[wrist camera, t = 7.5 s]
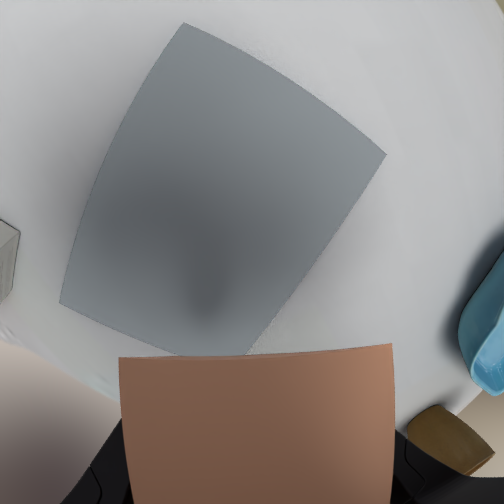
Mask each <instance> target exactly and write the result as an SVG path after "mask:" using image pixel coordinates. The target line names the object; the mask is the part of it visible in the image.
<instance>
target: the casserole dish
mask: <svg viewBox="0 0 504 504" xmlns="http://www.w3.org/2000/svg"><path fill="white" fill-rule="evenodd" d="M458 341H459V346H460V349H461V352H462V355H463V358H464V360H465V363H466V365H467V368H468V371H469V373H470V376H471V378H472V380H473V381H474V382H475V383H476V384H477V385H478V386H480V387H481V388H482V389H484V390H485V391H486V392H487V393H489V394H490V395H492V396H497V395H500V394H501V393H503V392H504V251H503V252H502V254H501V255H500V257H499V258H498V260H497V261H496V263H495V264H494V266H493V268H492V270H491V271H490V272H489V273H488V275H487V276H486V278H485V279H484V280H483V282H482V283H481V285H480V286H479V287H478V289H477V290H476V292H475V293H474V294H473V296H472V297H471V299H470V300H469V302H468V303H467V305H466V307H465V308H464V310H463V312H462V314H461V317H460V323H459V328H458Z"/></svg>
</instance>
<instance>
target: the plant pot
mask: <svg viewBox="0 0 504 504" xmlns="http://www.w3.org/2000/svg"><path fill="white" fill-rule="evenodd" d="M407 434H408V440H410V441H411V442H412V443H414V444H415V445H416V446H418V447H419V448H420V449H422V450H423V451H424V452H426V453H427V454H429V455H431V456H432V457H434V458H435V459H437V460H439V461H440V462H442V463H444V464H445V465H447V466H449V467H451V468H452V469H454V470H456V471H458V472H460V473H462V474H464V475H467V476H470V475H472V474H473V473H474V472H475V471H477V470H478V469H479V468H481V467H482V466H483V465H484V464H485V463H486V462H488V461H489V460H490V459H491V458H492V457H493V456H494V455H495V452H494V451H493V450H492V448H491V447H490V446H489V445H488V444H487V443H486V442H485V441H484V440H483V439H482V438H481V437H480V436H479V435H478V434H477V433H476V432H475V431H474V430H473V429H472V428H471V427H469V426H468V425H467V424H466V423H464V422H463V421H462V420H461V419H459V418H458V417H457V416H455V415H454V414H452V413H451V412H449V411H448V410H446V409H445V408H443V407H441V406H439V405H435V406H432V407H430V408H428V409H426V410H425V411H423V412H422V413H420V414H419V415H418V416H416V417H415V418H414V419H413V420H412V421H411V422H410V423H409V425H408V427H407Z"/></svg>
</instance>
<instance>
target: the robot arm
mask: <svg viewBox="0 0 504 504" xmlns="http://www.w3.org/2000/svg"><path fill="white" fill-rule="evenodd" d="M60 504H134V500H133V495H132V490H131V484H130V479H129V473H128V466H127V460H126V453H125V445H124V436H123V427H122V418H121V419H120V421H119V422H118V424H117V425H116V427H115V428H114V430H113V431H112V433H111V434H110V436H109V437H108V439H107V440H106V442H105V443H104V444H103V446H102V447H101V449H100V451H99V452H98V453H97V455H96V456H95V458H94V460H93V461H92V462H91V464H90V467H88V468H87V470H86V471H85V473H84V474H83V476H82V477H81V479H80V480H79V481H78V483H77V484H76V486H75V487H74V488H73V489H72V491H71V492H70V493H69V494H68V495H67V496H66V498H65V499H64V500H63V501H62V502H61V503H60ZM390 504H504V477H497V478H496V477H494V478H492V477H490V478H489V477H488V478H487V477H484V478H482V477H481V478H480V477H471V476H467V475H464V474H462V473H460V472H458V471H456V470H454V469H452V468H451V467H449V466H447V465H445V464H444V463H442V462H440V461H439V460H437V459H435V458H434V457H432V456H431V455H429V454H427V453H426V452H424V451H423V450H422V449H420V448H419V447H418V446H416V445H415V444H414V443H412V442H411V441H410V440H408V439H406V437H405V436H403V435H402V434H401V433H399V432H398V431H397V430H396V429H395V444H394V464H393V477H392V488H391V498H390Z"/></svg>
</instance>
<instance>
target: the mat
mask: <svg viewBox="0 0 504 504" xmlns="http://www.w3.org/2000/svg"><path fill="white" fill-rule="evenodd" d="M386 155H387V154H386V153H385V152H384V151H383V150H381V149H380V148H379V147H378V146H377V145H376V144H375V143H373V142H372V141H371V140H370V139H369V138H368V137H366V136H365V135H364V134H363V133H362V132H361V131H359V130H358V129H357V128H356V127H354V126H353V125H352V124H351V123H349V122H348V121H347V120H346V119H344V118H343V117H342V116H341V115H339V114H338V113H337V112H335V111H334V110H333V109H331V108H330V107H329V106H327V105H326V104H325V103H323V102H322V101H321V100H319V99H318V98H316V97H315V96H314V95H312V94H311V93H309V92H308V91H306V90H305V89H303V88H302V87H301V86H299V85H298V84H296V83H295V82H293V81H291V80H290V79H288V78H287V77H285V76H284V75H282V74H281V73H279V72H277V71H276V70H274V69H273V68H271V67H269V66H268V65H266V64H264V63H263V62H261V61H259V60H257V59H256V58H254V57H252V56H251V55H249V54H247V53H245V52H243V51H242V50H240V49H238V48H236V47H234V46H232V45H230V44H228V43H226V42H225V41H223V40H221V39H219V38H217V37H215V36H212V35H210V34H208V33H206V32H204V31H202V30H200V29H198V28H195V27H193V26H191V25H189V24H186V23H183V24H182V25H181V27H180V28H179V29H178V31H177V32H176V34H175V35H174V36H173V38H172V39H171V41H170V42H169V44H168V45H167V47H166V48H165V50H164V51H163V53H162V54H161V56H160V57H159V59H158V60H157V62H156V63H155V65H154V66H153V68H152V70H151V71H150V73H149V75H148V76H147V78H146V80H145V81H144V83H143V85H142V86H141V88H140V90H139V92H138V93H137V95H136V97H135V99H134V101H133V102H132V104H131V106H130V108H129V110H128V112H127V114H126V116H125V117H124V119H123V121H122V123H121V125H120V127H119V129H118V131H117V134H116V136H115V138H114V140H113V142H112V144H111V146H110V148H109V151H108V153H107V155H106V157H105V160H104V162H103V164H102V167H101V169H100V171H99V174H98V176H97V179H96V181H95V184H94V186H93V189H92V192H91V194H90V197H89V200H88V202H87V205H86V208H85V211H84V214H83V217H82V220H81V223H80V226H79V229H78V232H77V235H76V238H75V242H74V245H73V248H72V252H71V255H70V259H69V263H68V267H67V270H66V274H65V278H64V283H63V287H62V291H61V296H60V301H59V303H60V304H62V305H64V306H66V307H68V308H70V309H72V310H74V311H76V312H78V313H80V314H82V315H84V316H86V317H88V318H90V319H92V320H95V321H97V322H99V323H101V324H103V325H105V326H108V327H110V328H112V329H114V330H117V331H119V332H121V333H124V334H126V335H128V336H131V337H133V338H135V339H138V340H140V341H143V342H145V343H148V344H150V345H153V346H155V347H158V348H161V349H163V350H166V351H169V352H171V353H174V354H177V355H180V356H237V355H245V354H246V352H247V351H248V350H249V349H250V347H251V346H252V345H253V344H254V342H255V341H256V340H257V339H258V337H259V336H260V335H261V333H262V332H263V331H264V330H265V328H266V327H267V326H268V324H269V323H270V322H271V321H272V319H273V318H274V317H275V315H276V314H277V313H278V311H279V310H280V309H281V308H282V306H283V305H284V304H285V302H286V301H287V300H288V298H289V297H290V296H291V294H292V293H293V291H294V290H295V289H296V287H297V286H298V285H299V283H300V282H301V281H302V279H303V278H304V277H305V275H306V274H307V272H308V271H309V270H310V268H311V267H312V265H313V264H314V263H315V261H316V260H317V258H318V257H319V256H320V254H321V253H322V251H323V250H324V249H325V247H326V246H327V244H328V243H329V241H330V240H331V239H332V237H333V236H334V234H335V233H336V231H337V230H338V228H339V227H340V226H341V224H342V223H343V221H344V220H345V218H346V217H347V215H348V214H349V212H350V211H351V209H352V208H353V206H354V205H355V203H356V202H357V200H358V199H359V197H360V196H361V194H362V193H363V191H364V190H365V188H366V187H367V185H368V183H369V182H370V180H371V179H372V177H373V176H374V174H375V173H376V171H377V169H378V168H379V166H380V165H381V163H382V161H383V160H384V158H385V157H386Z"/></svg>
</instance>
